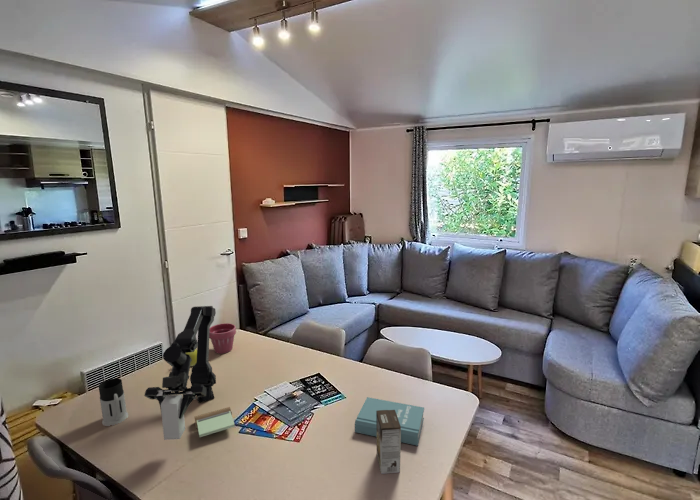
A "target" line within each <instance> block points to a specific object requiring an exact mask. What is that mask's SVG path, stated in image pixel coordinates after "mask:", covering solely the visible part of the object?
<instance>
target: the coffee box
mask: <svg viewBox="0 0 700 500" xmlns="http://www.w3.org/2000/svg"><path fill="white" fill-rule="evenodd" d="M376 426H377V437H376V457H377V462H378V467H379V472H380V473H381V475H383V474H385V475H386V474H396V473H401V445H402V444H401V443H402V442H401V426H400V423H399V420H398V417H397V414H396V411H395V410H378V411H376Z"/></svg>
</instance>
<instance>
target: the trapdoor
mask: <svg viewBox="0 0 700 500" xmlns="http://www.w3.org/2000/svg"><path fill="white" fill-rule="evenodd" d="M231 412H232V411H231ZM231 412H230V411H228V412H224V413H221V414H217V415H214V416H210V417H207V418H203V419H200V420H197V426H198V428H197V431H198V438H202V437H206V436H209V435H212V434H215V433H218V432H222V431H225V430H228V429H229V430H230V429H232V428H235V427H236V425H235V422H234V418H233V414H232V415H231Z"/></svg>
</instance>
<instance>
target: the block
mask: <svg viewBox="0 0 700 500" xmlns="http://www.w3.org/2000/svg"><path fill="white" fill-rule="evenodd" d="M182 402H183V394H180V395H167V396H166V397H165V399H164V400H163V402H162V403H161V409H160V414H161V413H162V416H161V422H162V432H163V440H164V441H165V440H166V441H167V440H180V439H181V437H182V436H183V435H184V432H185V430H186V423H185V414H184V415H183V417H182V418H181V419H179V415H180V410H181V406H182Z"/></svg>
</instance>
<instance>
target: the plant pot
mask: <svg viewBox="0 0 700 500" xmlns="http://www.w3.org/2000/svg"><path fill="white" fill-rule="evenodd" d="M236 328H237V327H236V325H235V324H233V323H228V322H227V323H219V324H215V325H212V326H210V333H209V340H210V341H211V344H212V347H213V349H214V352H215V354H220V355H221V354H227V353H229V352H231V351H232V350H233V347H234V342H235V341H234V340H235V339H234V338H235V335H236V333H237V329H236Z"/></svg>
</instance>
